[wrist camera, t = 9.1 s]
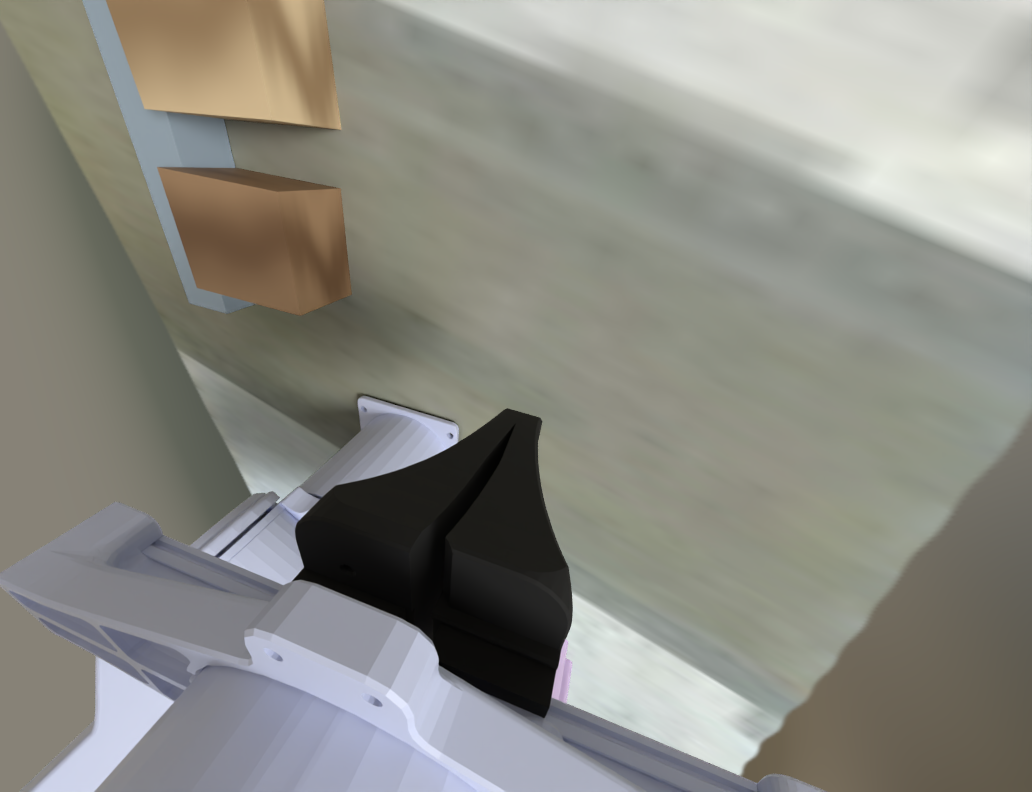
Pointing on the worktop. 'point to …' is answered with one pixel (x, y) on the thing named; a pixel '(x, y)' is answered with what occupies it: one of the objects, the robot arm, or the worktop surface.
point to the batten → (164, 147)
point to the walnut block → (261, 236)
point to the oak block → (231, 59)
